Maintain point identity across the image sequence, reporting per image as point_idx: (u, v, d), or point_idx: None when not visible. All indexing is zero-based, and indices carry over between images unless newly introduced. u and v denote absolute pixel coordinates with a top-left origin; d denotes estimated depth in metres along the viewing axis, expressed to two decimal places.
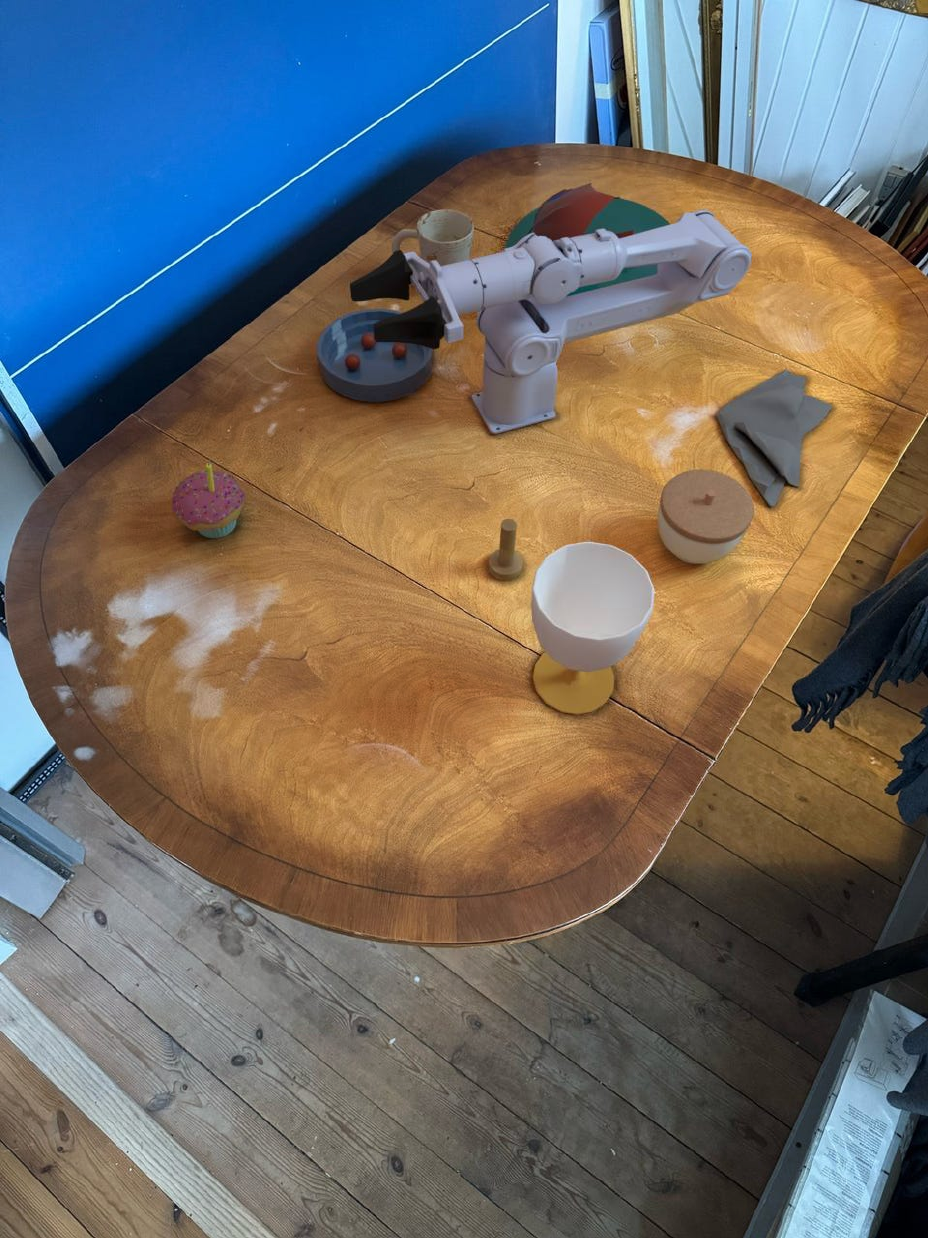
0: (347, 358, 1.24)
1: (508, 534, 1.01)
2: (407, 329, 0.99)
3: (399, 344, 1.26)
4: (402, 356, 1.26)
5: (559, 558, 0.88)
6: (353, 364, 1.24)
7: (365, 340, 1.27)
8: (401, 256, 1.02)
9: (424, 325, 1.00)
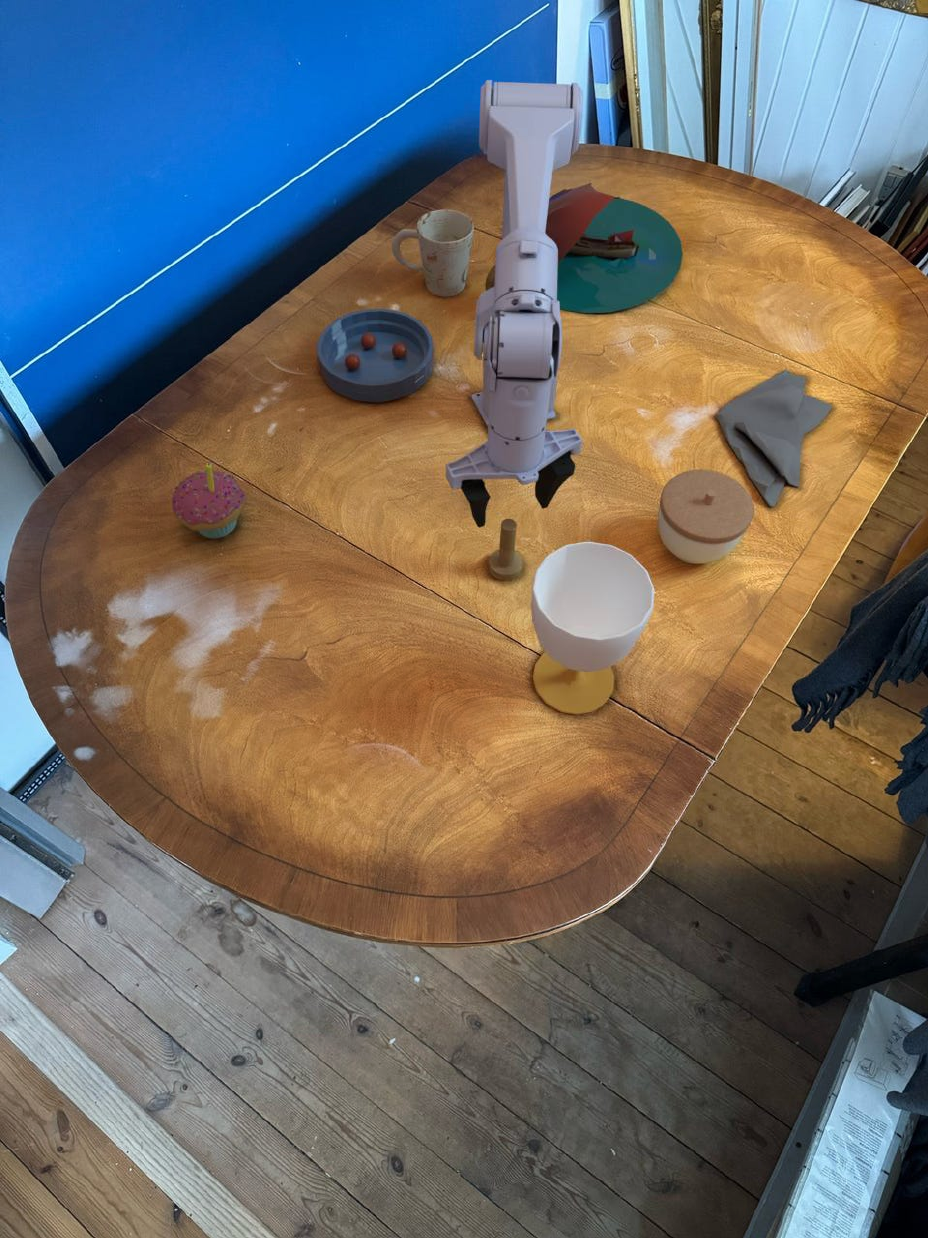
0: (347, 358, 1.24)
1: (508, 534, 1.01)
2: None
3: (399, 344, 1.26)
4: (402, 356, 1.26)
5: (559, 558, 0.88)
6: (353, 364, 1.24)
7: (365, 340, 1.27)
8: (484, 499, 0.91)
9: None
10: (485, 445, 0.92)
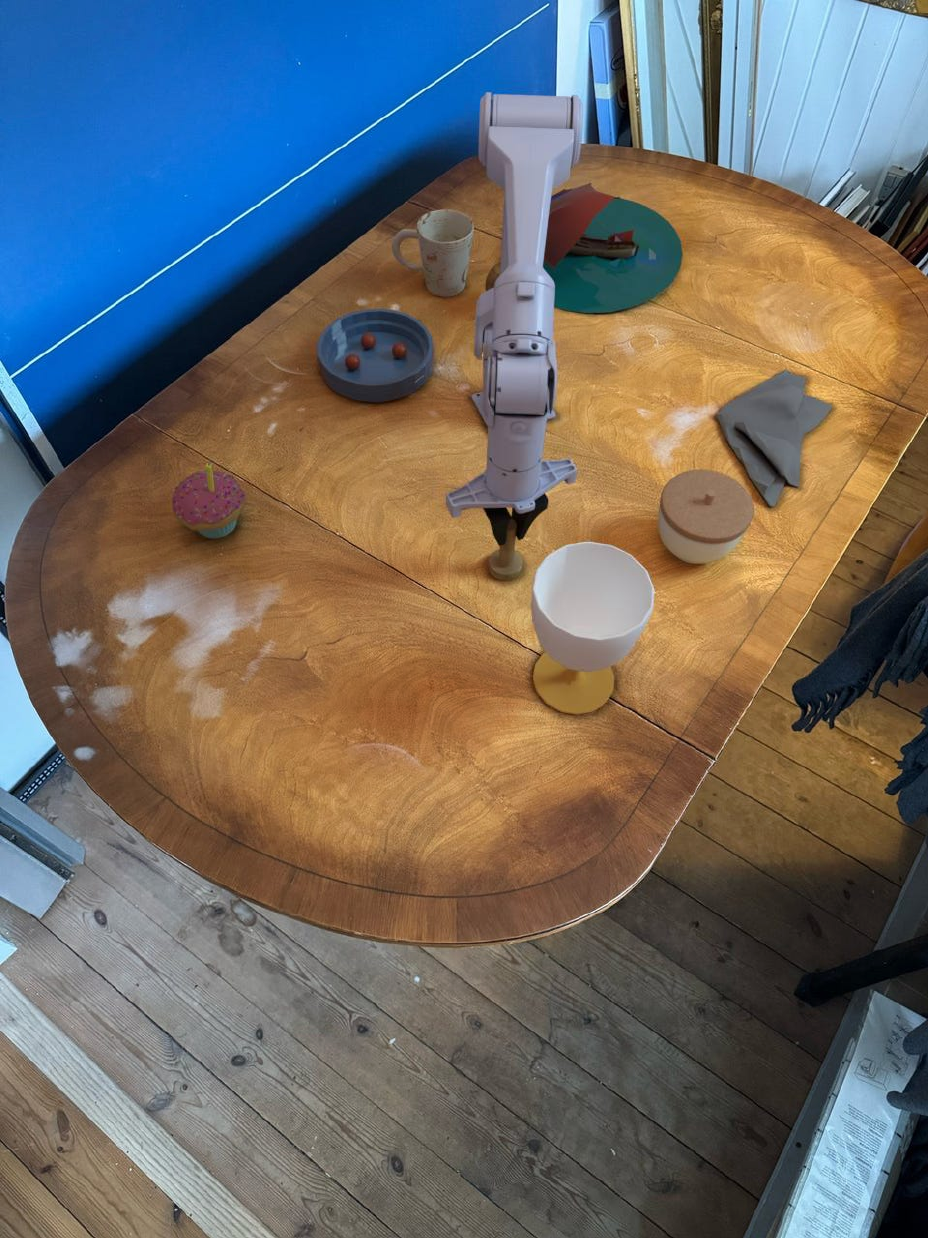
0: (347, 358, 1.24)
1: (508, 534, 1.01)
2: None
3: (399, 344, 1.26)
4: (402, 356, 1.26)
5: (559, 558, 0.88)
6: (353, 364, 1.24)
7: (365, 340, 1.27)
8: (505, 520, 0.95)
9: None
10: (484, 475, 0.95)
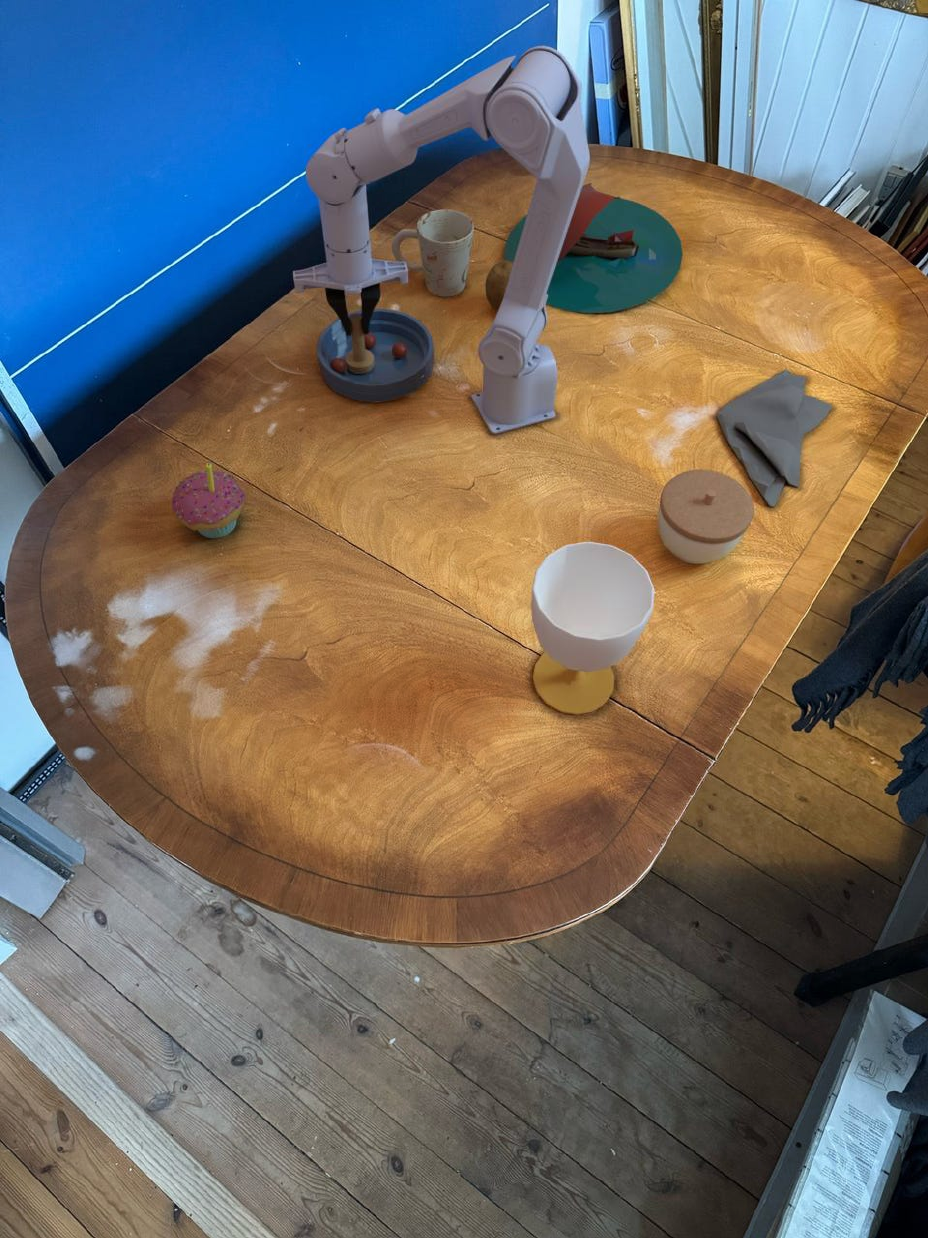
0: None
1: (353, 325, 1.20)
2: None
3: (399, 344, 1.26)
4: (402, 356, 1.26)
5: (559, 558, 0.88)
6: (338, 372, 1.25)
7: (365, 340, 1.27)
8: (340, 302, 1.14)
9: None
10: None
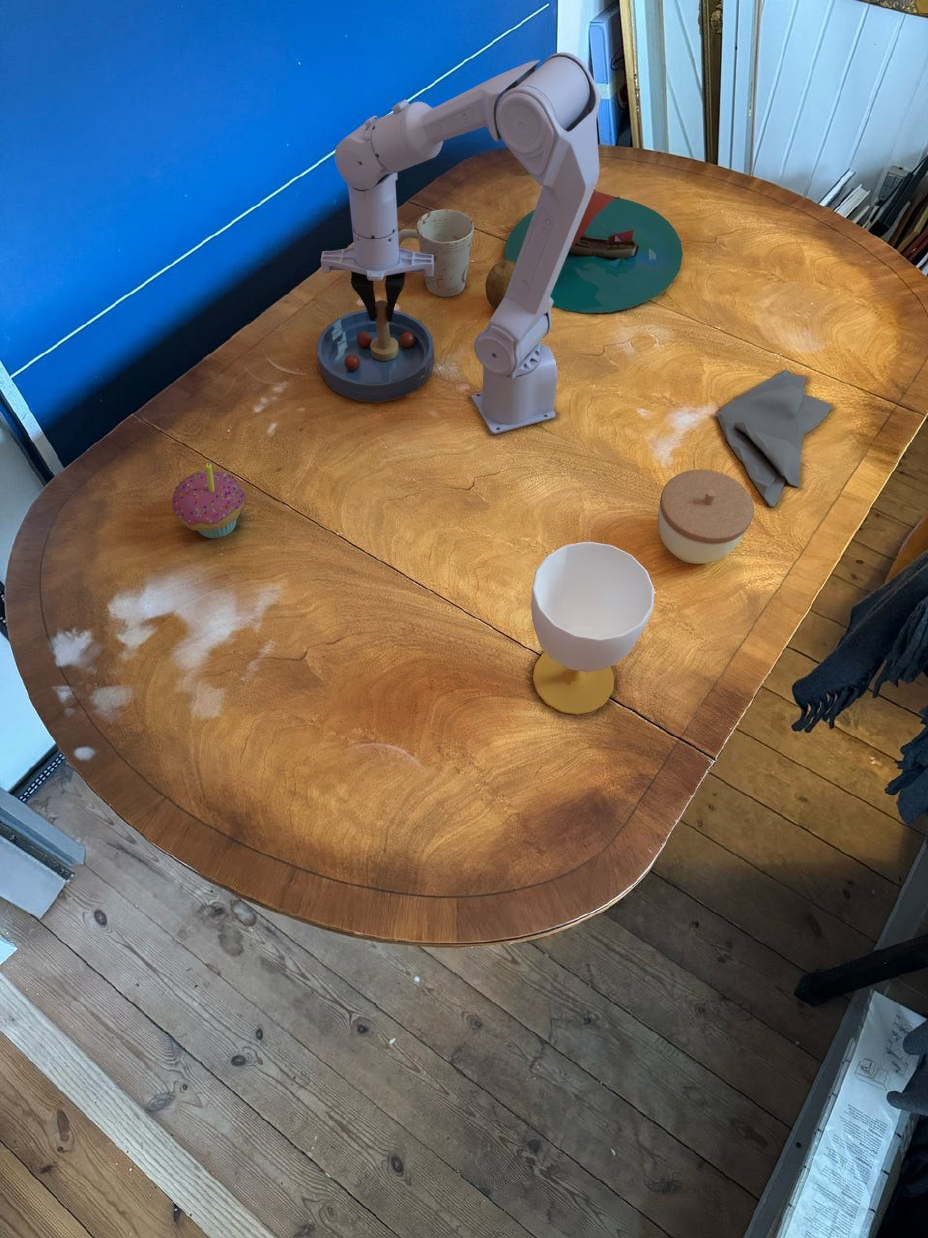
0: (347, 358, 1.24)
1: (377, 311, 1.21)
2: None
3: None
4: (412, 335, 1.27)
5: (559, 558, 0.88)
6: (353, 364, 1.24)
7: (358, 338, 1.27)
8: (363, 287, 1.16)
9: None
10: None
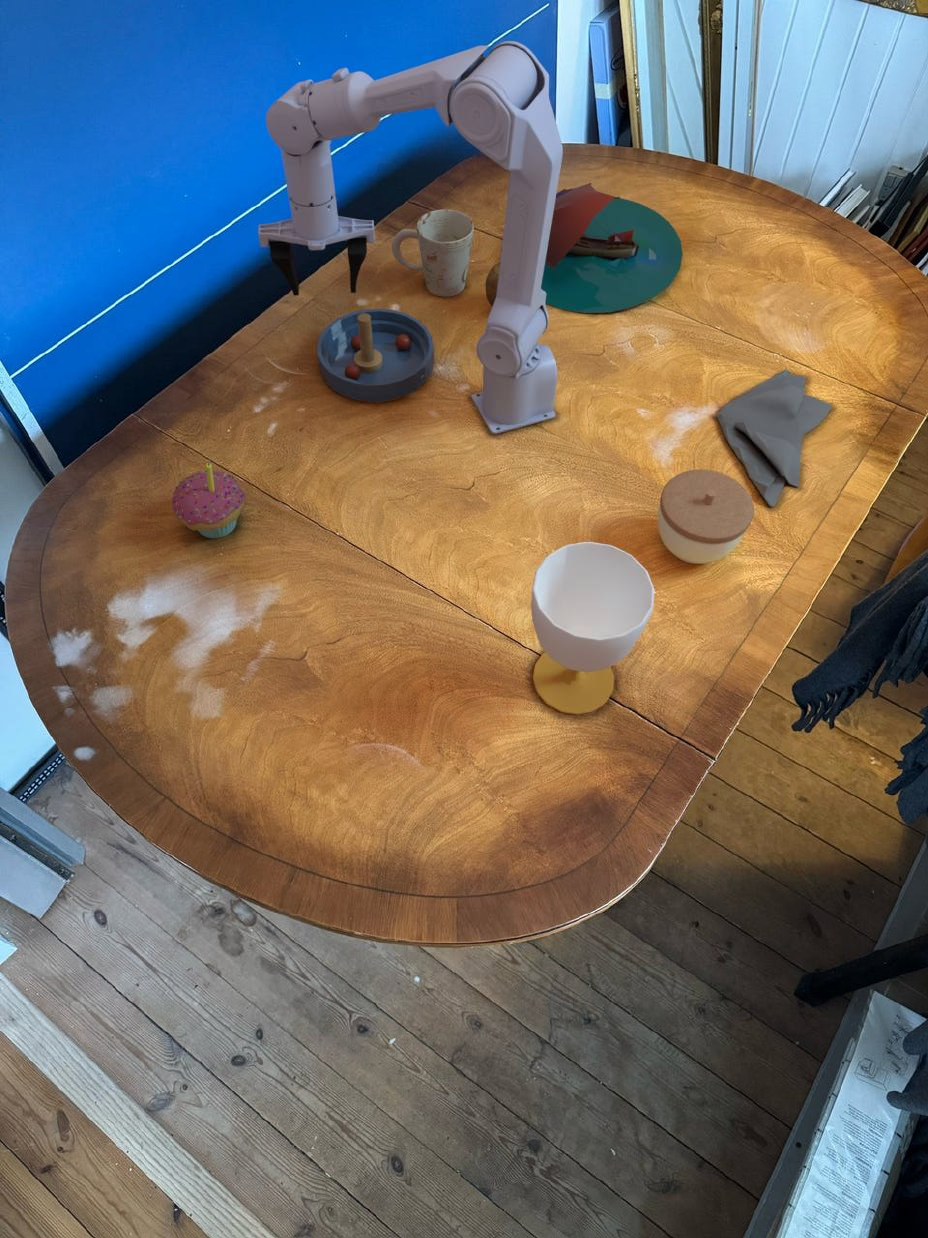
0: None
1: (361, 324, 1.20)
2: None
3: None
4: (403, 338, 1.27)
5: (559, 558, 0.88)
6: None
7: None
8: (283, 259, 1.13)
9: None
10: None
